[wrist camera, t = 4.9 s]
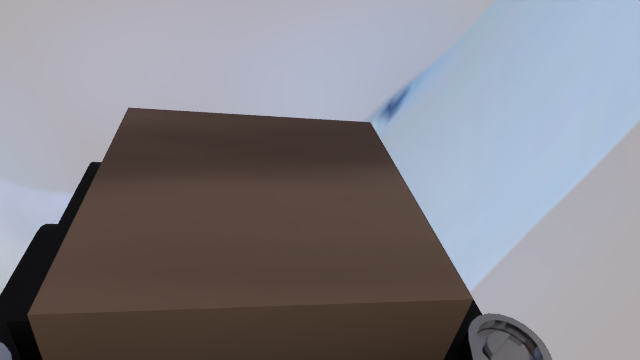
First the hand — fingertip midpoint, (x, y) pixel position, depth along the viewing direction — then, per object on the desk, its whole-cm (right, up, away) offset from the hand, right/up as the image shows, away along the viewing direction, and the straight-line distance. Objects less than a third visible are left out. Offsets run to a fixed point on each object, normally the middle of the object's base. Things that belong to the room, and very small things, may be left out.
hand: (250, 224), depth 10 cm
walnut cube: (0, 0, 0) cm, 1 cm away
